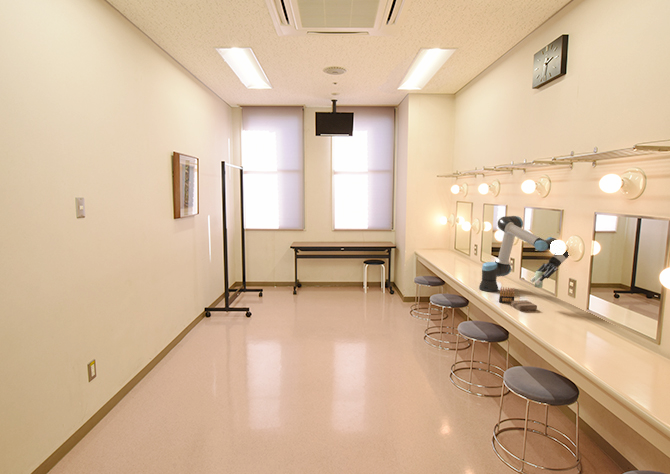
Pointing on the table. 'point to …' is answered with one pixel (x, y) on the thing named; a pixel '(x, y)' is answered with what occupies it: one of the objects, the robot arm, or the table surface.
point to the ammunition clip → (506, 295)
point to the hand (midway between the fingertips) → (533, 282)
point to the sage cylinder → (537, 276)
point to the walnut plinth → (524, 305)
